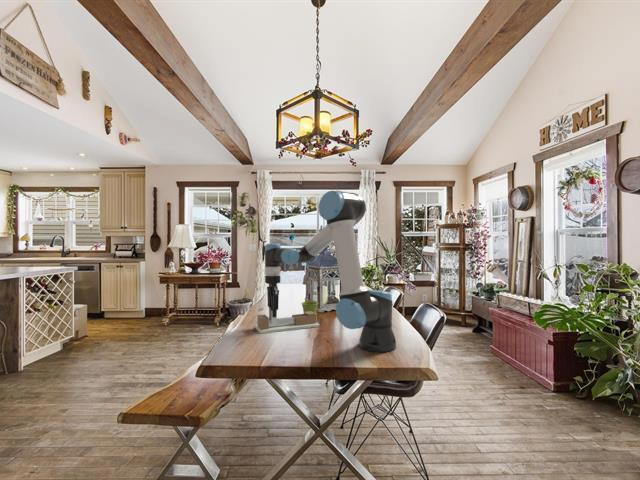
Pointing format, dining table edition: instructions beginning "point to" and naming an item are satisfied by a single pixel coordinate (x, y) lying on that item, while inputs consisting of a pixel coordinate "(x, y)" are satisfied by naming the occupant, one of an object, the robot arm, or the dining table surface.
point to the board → (300, 322)
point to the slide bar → (281, 320)
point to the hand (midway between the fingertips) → (272, 322)
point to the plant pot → (309, 306)
